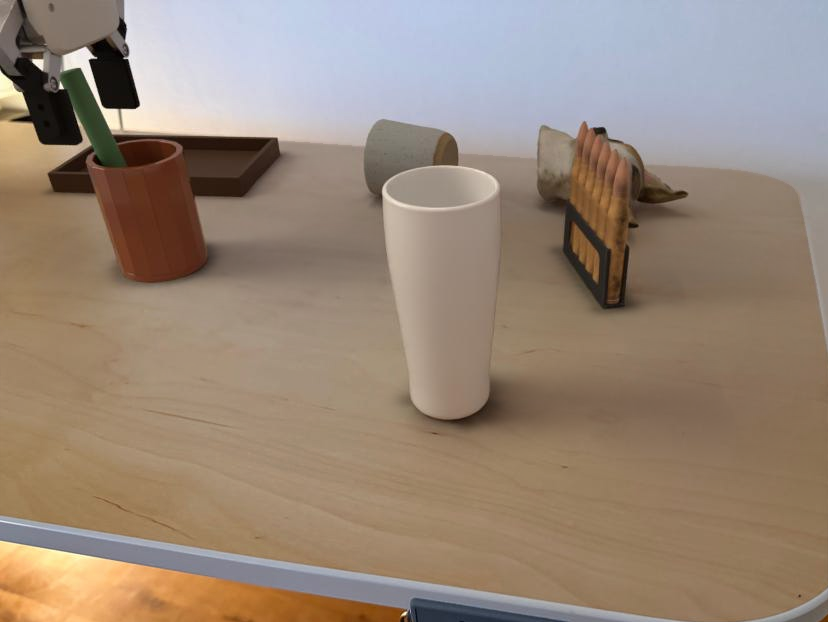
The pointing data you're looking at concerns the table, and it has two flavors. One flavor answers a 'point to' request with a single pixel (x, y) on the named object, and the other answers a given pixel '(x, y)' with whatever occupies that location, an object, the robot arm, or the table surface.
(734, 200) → the table surface
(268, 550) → the table surface
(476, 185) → the drinking glass
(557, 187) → the ceramic sculpture
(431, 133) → the ceramic mug
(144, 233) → the tumbler
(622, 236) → the ammunition clip
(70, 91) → the straw
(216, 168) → the tray
